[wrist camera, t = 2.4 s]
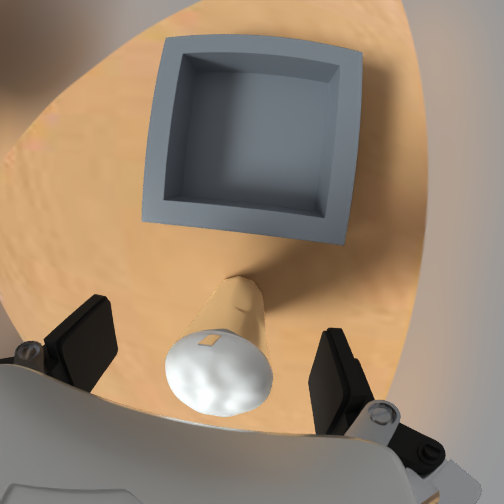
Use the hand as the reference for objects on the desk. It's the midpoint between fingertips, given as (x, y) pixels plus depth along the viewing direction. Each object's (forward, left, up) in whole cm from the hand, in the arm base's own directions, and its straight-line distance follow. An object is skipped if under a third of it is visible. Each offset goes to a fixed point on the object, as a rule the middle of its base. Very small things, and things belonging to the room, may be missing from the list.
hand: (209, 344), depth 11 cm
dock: (+9, 0, -7) cm, 12 cm away
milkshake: (-1, -1, -8) cm, 7 cm away
